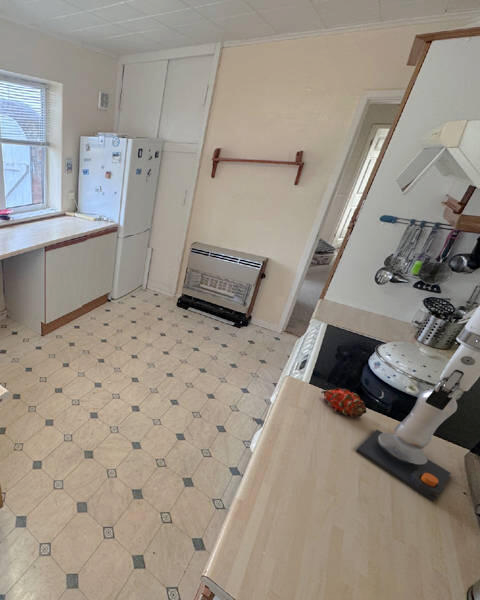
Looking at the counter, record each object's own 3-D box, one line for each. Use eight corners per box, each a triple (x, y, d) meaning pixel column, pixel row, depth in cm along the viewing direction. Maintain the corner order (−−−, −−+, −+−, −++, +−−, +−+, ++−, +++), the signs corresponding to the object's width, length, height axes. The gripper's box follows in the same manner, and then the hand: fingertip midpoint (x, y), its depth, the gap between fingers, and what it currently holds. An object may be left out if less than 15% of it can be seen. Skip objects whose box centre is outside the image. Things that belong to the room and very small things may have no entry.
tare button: (436, 484, 79) (440, 479, 78) (432, 489, 78) (437, 484, 77) (422, 475, 81) (426, 470, 80) (418, 480, 80) (422, 475, 79)
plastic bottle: (390, 428, 91) (430, 372, 82) (423, 443, 86) (469, 386, 77) (388, 440, 86) (430, 383, 77) (423, 457, 82) (471, 399, 73)
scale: (448, 478, 85) (455, 469, 83) (431, 505, 78) (440, 496, 76) (373, 433, 97) (379, 425, 95) (354, 453, 90) (359, 444, 88)
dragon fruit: (360, 428, 100) (316, 409, 109) (371, 406, 102) (327, 389, 111) (362, 417, 95) (315, 397, 104) (373, 394, 97) (326, 377, 106)
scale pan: (430, 456, 86) (432, 454, 86) (419, 472, 81) (420, 470, 81) (385, 429, 94) (386, 427, 93) (371, 443, 89) (373, 441, 88)
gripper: (501, 360, 65) (449, 424, 73) (515, 340, 73) (467, 399, 81) (449, 341, 70) (406, 403, 78) (469, 324, 79) (428, 381, 87)
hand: (438, 400), depth 80 cm, fingers closed on plastic bottle, 6 cm apart
